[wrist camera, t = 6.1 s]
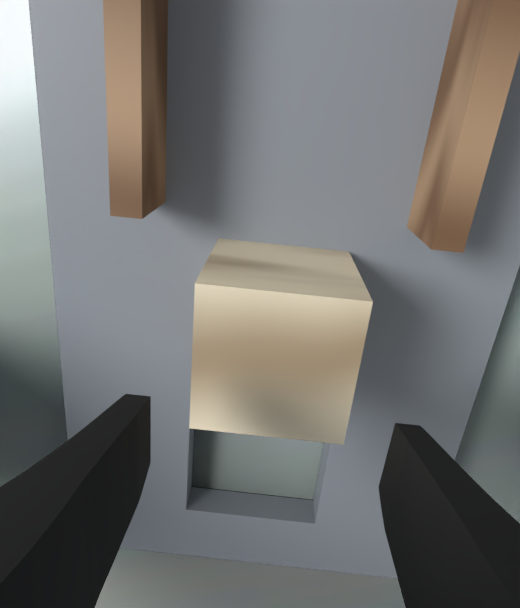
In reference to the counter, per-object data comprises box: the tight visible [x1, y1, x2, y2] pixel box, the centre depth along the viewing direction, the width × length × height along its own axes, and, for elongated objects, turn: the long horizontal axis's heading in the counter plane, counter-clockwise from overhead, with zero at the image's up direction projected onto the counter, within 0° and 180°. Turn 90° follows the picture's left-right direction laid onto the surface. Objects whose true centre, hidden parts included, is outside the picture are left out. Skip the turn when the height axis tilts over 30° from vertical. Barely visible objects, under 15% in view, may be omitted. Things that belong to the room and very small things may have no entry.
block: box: [189, 238, 373, 445], centre depth 16 cm, size 5×5×5 cm
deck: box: [29, 0, 520, 579], centre depth 18 cm, size 34×18×2 cm, turn 175°
